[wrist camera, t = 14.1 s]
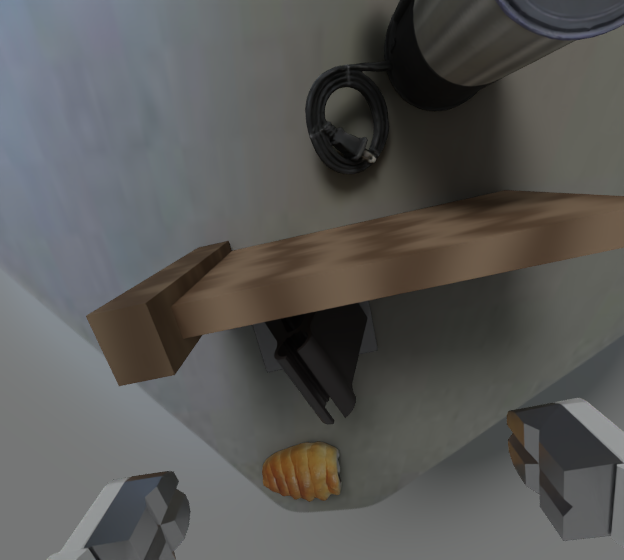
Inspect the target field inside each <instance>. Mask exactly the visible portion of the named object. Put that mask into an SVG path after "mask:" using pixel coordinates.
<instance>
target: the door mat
mask: <svg viewBox="0 0 624 560" xmlns="http://www.w3.org/2000/svg"><path fill="white" fill-rule="evenodd" d="M358 303H359V305H360V306H361V308H362V309H363V311H364V313H365V314H366V316H367V317H368V319H367V323H366V327H365V331H364V335H363V339H362V344H361V348H360V352H359V354H362V353H367V352H373V351H378V349H377V344H376V338H375V333H374V327H373V322H372V316H371V310H370V305H369V300H368V301H363V302H358ZM253 328H254V331H255V334H256V337H257V341H258V344H259V347H260V351H261V354H262V357H263V360H264V364H265V367H266V370H267V372H271V371H277V370H282V369H283V368H282V367H281V366H280V364H279V363H278V362H277V360H276V359H275V358H274V353H275V350H276V348H277V341H276V339H275V338H274V336H273V335H272V333H271V331H270V330H269V328H268V327H267V325H266V324H265V322H262V323H257V324H253Z"/></svg>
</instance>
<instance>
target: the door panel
mask: <svg viewBox="0 0 624 560" xmlns="http://www.w3.org/2000/svg"><path fill="white" fill-rule="evenodd" d="M623 247H624V196H609V195H589V194H570V193H550V192H531V191H511V190H504V191H500V192H495V193H491V194H486V195H482V196H477V197H473V198H468V199H464V200H459V201H455V202H450V203H446V204H441V205H437V206H432V207H428V208H423V209H419V210H414V211H410V212H405V213H401V214H396V215H392V216H387V217H383V218H378V219H374V220H369V221H364V222H360V223H355V224H351V225H346V226H342V227H337V228H333V229H328V230H324V231H319V232H315V233H310V234H306V235H301V236H297V237H292V238H288V239H283V240H279V241H274V242H270V243H265V244H261V245H256V246H252V247H247V248H243V249H238V250H234V251H231V248H230V245H229V241H226V242H222V243H217V244H213V245H208V246H204V247H199V248H197V249H195V250H194V251H192V252H190V253H189V254H187V255H185V256H184V257H182V258H180V259H179V260H177V261H176V262H174V263H172V264H171V265H169V266H167V267H166V268H164V269H162V270H161V271H159V272H157V273H156V274H154V275H153V276H151V277H149V278H148V279H146V280H144V281H143V282H141V283H139V284H138V285H136V286H134V287H133V288H131V289H129V290H128V291H126V292H125V293H123V294H121V295H120V296H118V297H116V298H115V299H113V300H111V301H110V302H108V303H106V304H105V305H103V306H102V307H100V308H98V309H97V310H95V311H93V312H92V313H90V314H88V315H87V316H86V317H87V320H88V322H89V324H90V326H91V328H92V330H93V332H94V334H95V336H96V338H97V341H98V343H99V345H100V347H101V349H102V351H103V353H104V355H105V357H106V360H107V362H108V364H109V366H110V368H111V370H112V372H113V374H114V376H115V378H116V381H117V382H118V385H119V386H122V385H127V384H132V383H137V382H142V381H147V380H152V379H157V378H162V377H167V376H172V375H175V374H176V372H177V371H178V369H179V368H180V367H181V365H182V364H183V362H184V361H185V359H186V358H187V356H188V355H189V354H190V352H191V351H192V349H193V348H194V346H195V345H196V343H197V342H198V341H199V339H200V338H201V336H202V335H204V334H209V333H214V332H218V331H223V330H228V329H233V328H238V327H242V326H247V325H252V324H257V323H262V322H267V321H271V320H276V319H281V318H286V317H291V316H296V315H300V314H305V313H310V312H315V311H320V310H324V309H329V308H334V307H339V306H344V305H349V304H353V303H358V302H363V301H368V300H373V299H377V298H382V297H387V296H392V295H397V294H402V293H406V292H411V291H416V290H421V289H426V288H431V287H435V286H440V285H445V284H450V283H455V282H459V281H464V280H469V279H474V278H479V277H484V276H488V275H493V274H498V273H503V272H508V271H512V270H517V269H522V268H527V267H532V266H537V265H541V264H546V263H551V262H556V261H561V260H566V259H570V258H575V257H580V256H585V255H590V254H594V253H599V252H604V251H609V250H614V249H619V248H623Z"/></svg>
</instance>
